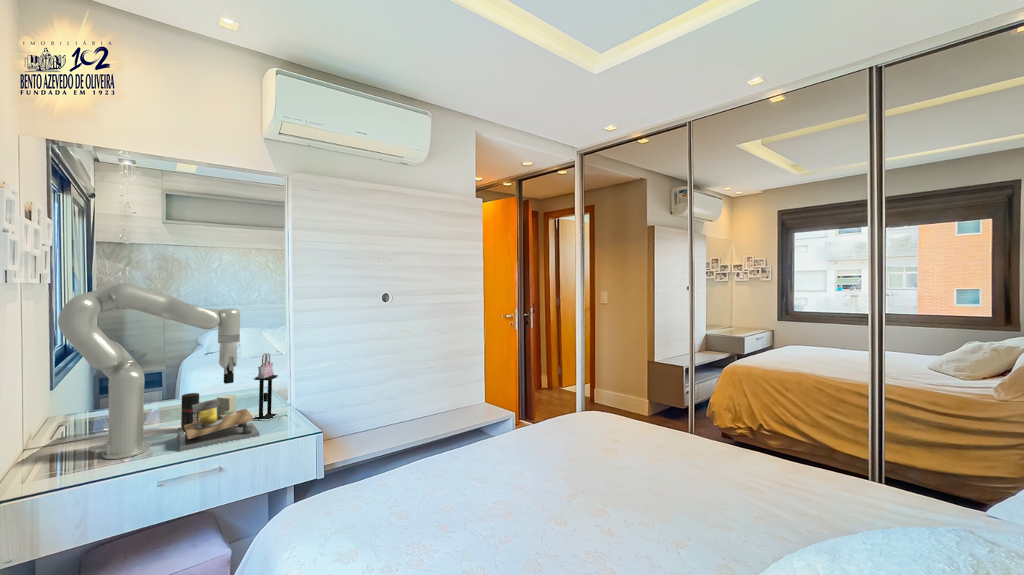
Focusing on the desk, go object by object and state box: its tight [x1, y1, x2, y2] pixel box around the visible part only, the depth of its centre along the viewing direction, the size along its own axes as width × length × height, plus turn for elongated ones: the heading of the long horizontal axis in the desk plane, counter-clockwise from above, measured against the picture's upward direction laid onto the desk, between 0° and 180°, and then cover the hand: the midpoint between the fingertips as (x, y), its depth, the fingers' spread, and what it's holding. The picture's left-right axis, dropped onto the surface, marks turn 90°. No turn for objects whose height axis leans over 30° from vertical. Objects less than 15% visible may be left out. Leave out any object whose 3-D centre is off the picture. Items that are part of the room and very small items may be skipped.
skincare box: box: [216, 394, 237, 416], centre depth 190 cm, size 6×4×12 cm
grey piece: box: [176, 422, 260, 452], centre depth 174 cm, size 26×14×5 cm, turn 132°
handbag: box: [253, 352, 279, 422], centre depth 199 cm, size 10×8×30 cm
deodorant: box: [180, 392, 200, 434], centre depth 180 cm, size 6×6×15 cm
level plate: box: [184, 398, 255, 439], centre depth 173 cm, size 22×14×10 cm, turn 131°
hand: (228, 382), depth 178 cm, fingers closed
